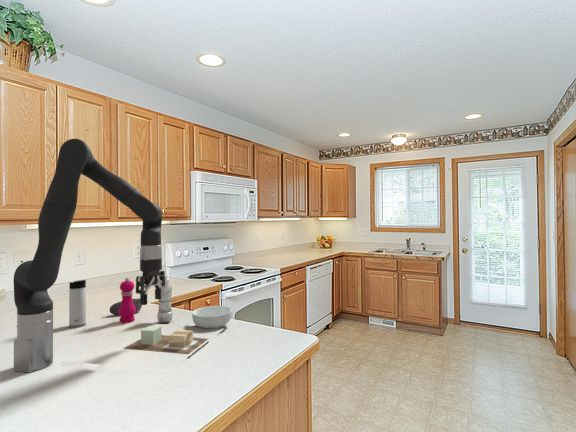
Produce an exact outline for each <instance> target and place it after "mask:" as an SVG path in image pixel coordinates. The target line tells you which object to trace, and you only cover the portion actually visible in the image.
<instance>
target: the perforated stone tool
mask: <svg viewBox="0 0 576 432" xmlns="http://www.w3.org/2000/svg"><path fill="white" fill-rule="evenodd" d="M132 301H133V303H134V306H135V308H136V313H139V312H140V311H141V309H142V307H143V305H141V303H140V297H139V298H132ZM121 303H122V300H120V301H118V302H116V303H115V302H114V303H113V304H112V305H111V306H110V307H109V313H110V314H112V315H114V316H120V315H119V314H118V312H119V308H120V306H121Z"/></svg>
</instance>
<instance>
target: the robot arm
mask: <svg viewBox="0 0 576 432" xmlns="http://www.w3.org/2000/svg"><path fill="white" fill-rule="evenodd" d="M57 156H58V157H57V162H56V167H55V171H54V174H53V177H52V180H51V182H50V185H49V187H48V189H47V192H46V196H45V199H44V201H43V203H42V207H41V210H40V212H39V215H38V221H37V226H38V227H37V229H38V243H37V248H36V251H35V254H34V255H33V256H34V257H33V259H32V260H27V261H24V262H22V263H21V264H18V266H17V267H16V269H15V271H14V274H13V298H14V305H15V307H16V323H17V324H16V338H15V339H13V371H15V372H23V373H31V372H34V371H38V370H42V369H45V368H47V367H49V366H51V365H52V364H53V363H54V301H53V299H52V298H51V297H50V295H49V292H48V289H50V288H51V287H52V286H54V284H55V283H56V281H57V280H58V276H59V273H60V272H59V271H60V266H61V261H62V256H63V255H62V254H63V251H64V247H65V244H66V242H67V238H68V234H69V232H70V228H71V225H72V223H73V220H74V218H75V217H74V216H75V213H76V210H77V205H78V197H79V185H80V184H79V182H80V179H81V175H82V176H84V177H87V179H90V180H91V181H92V182H94V183H96V184H97V186H98V185H99V186H100V187H101V188H102V189H104V190H105V191H106V192H107V193H109V195H111V196H112V197H113V198H115V199H116V200H117V201H119V202H120V203H121V204H123V205H124V206H125V207H127V208H129V210H130V211H132V213H133V214H135V215H136V216H137V217H138V218H139V219H140V220H141V221H142V230H141V232H140V249H139V271H141V272H142V275H137V276H136V277H135V294H139V298H140V303H141V305H142V306H146V305H148V292H149V290H150V289H151V287H154V298H155V300H159V299H161V289H162V287H163V286H165V277H166V275H165V274H166V272H165V270H162V269H163V251H162V231H161V230H162V224H163V211H162V208H161V206H160V205H158V204H156V203H154V202H152V201H151V200H150V199H148V198H147V197H146V196H144V195H143V194H142V192H140V191H139V189H137V188H136V187H135V186H133V185H132V184H131V183H129V182H128V181H127V180H125V179H123V178H122V177H120V176H118V175H117V174H115V173H113V172H111V171H110V170H109V169H107V167H105V166H103V164H101V163H100V162H99V161H98V159H96V158H95V157H94V155H93V152H92V150H91V149H90V147H89V145H88V144H87V143H86V142H85V141H83V140H82V139H80V138H69V139H68V140H65V142H63V143H62V144H61V146H60V147H59V150H58V155H57ZM161 280H162V283H161Z"/></svg>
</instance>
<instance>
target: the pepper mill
mask: <svg viewBox="0 0 576 432" xmlns="http://www.w3.org/2000/svg"><path fill="white" fill-rule="evenodd" d="M134 289H135V283H134V282H133V281H131V280H130V278H129V277H125V278H124V281H122V282H121V283H120V284H119V290H120V291H121V292H120V294H121V295H120V296H121V301H122V303H121V306H120V308H119V312H118V314H119V315H118V316H119V323H120V324H129V323H134V322H135V320H136V319H135V318H136V317H135V316H134V315H135V314H137V312H136V308H135V306H134V303H133V301H132V299H133V294H134V291H133V290H134Z"/></svg>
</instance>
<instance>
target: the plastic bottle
mask: <svg viewBox="0 0 576 432" xmlns="http://www.w3.org/2000/svg"><path fill="white" fill-rule="evenodd" d="M161 283H162V280H161ZM172 296H173V287H172V285H171V284H170V277H168V276H165V286H163V287H162V289H161V299H158V310H157V311H158V312H157V315H156V316H157V317H156V318H157V321H158V322H159V323H163V324H164V323H166V324H167V323H170V322H171V321H172V320H173V310H172Z"/></svg>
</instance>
